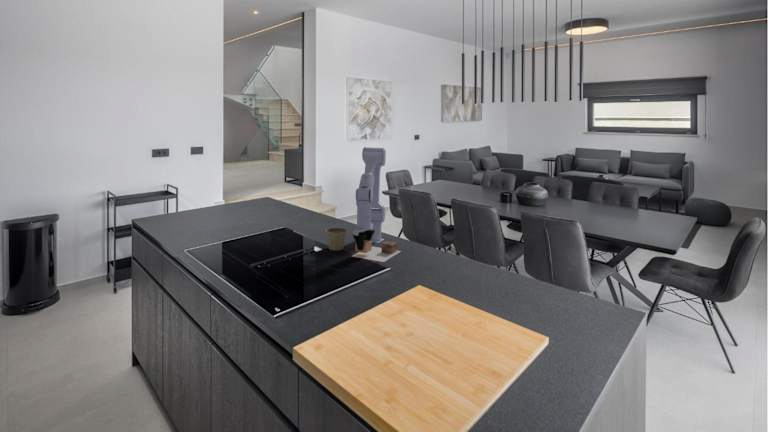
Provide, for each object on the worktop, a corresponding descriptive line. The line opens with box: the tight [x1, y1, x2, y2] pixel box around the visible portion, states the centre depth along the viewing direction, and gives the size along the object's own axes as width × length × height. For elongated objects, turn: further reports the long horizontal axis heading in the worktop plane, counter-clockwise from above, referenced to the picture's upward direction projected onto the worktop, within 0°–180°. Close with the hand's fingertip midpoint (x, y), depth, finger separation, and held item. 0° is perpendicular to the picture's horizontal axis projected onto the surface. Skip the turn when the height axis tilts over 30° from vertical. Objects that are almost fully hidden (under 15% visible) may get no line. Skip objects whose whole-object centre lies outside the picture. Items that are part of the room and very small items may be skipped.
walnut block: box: [381, 240, 398, 254], centre depth 184 cm, size 5×5×4 cm
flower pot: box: [324, 227, 348, 251], centre depth 187 cm, size 9×9×9 cm
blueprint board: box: [352, 245, 402, 263], centre depth 182 cm, size 15×17×1 cm
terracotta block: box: [354, 240, 373, 253], centre depth 179 cm, size 5×5×4 cm
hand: (363, 248), depth 179 cm, fingers closed on terracotta block, 5 cm apart
